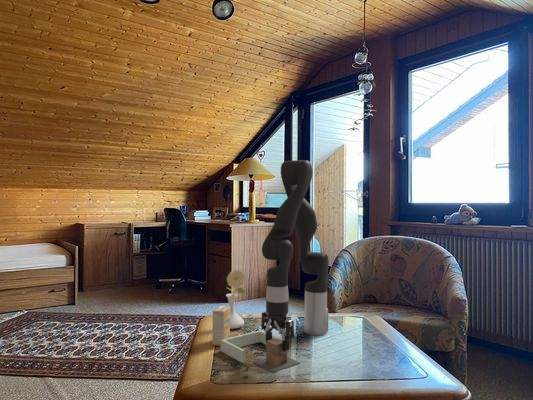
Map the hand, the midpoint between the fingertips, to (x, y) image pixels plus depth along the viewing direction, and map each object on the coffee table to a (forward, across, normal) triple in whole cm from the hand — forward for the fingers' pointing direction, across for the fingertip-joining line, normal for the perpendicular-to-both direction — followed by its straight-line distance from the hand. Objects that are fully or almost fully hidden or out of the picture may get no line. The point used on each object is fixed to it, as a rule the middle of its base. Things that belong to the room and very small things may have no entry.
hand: (277, 347), depth 134 cm
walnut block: (+5, 0, 0) cm, 5 cm away
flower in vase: (+6, +41, -10) cm, 42 cm away
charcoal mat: (+5, 0, 0) cm, 5 cm away
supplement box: (+6, +28, +4) cm, 29 cm away
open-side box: (+5, +14, 0) cm, 15 cm away
